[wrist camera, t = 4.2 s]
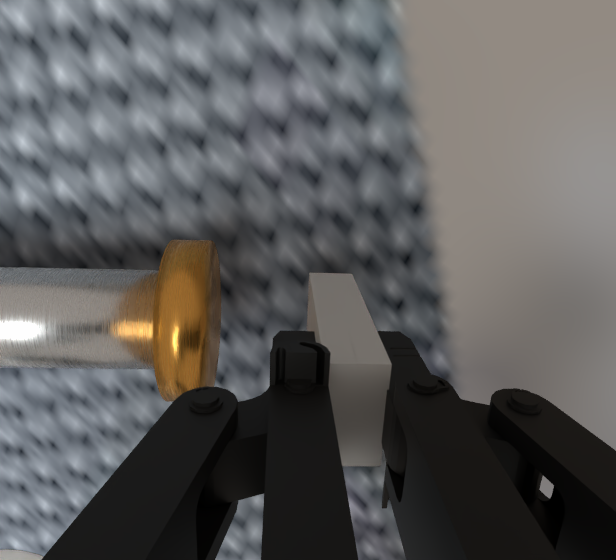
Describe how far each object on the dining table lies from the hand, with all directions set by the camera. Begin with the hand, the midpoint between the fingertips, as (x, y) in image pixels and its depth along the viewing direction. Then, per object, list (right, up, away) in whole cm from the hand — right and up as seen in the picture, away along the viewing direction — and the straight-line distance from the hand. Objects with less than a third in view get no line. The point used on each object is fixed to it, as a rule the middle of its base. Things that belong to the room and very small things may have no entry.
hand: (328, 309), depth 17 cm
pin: (-10, +1, +1) cm, 10 cm away
